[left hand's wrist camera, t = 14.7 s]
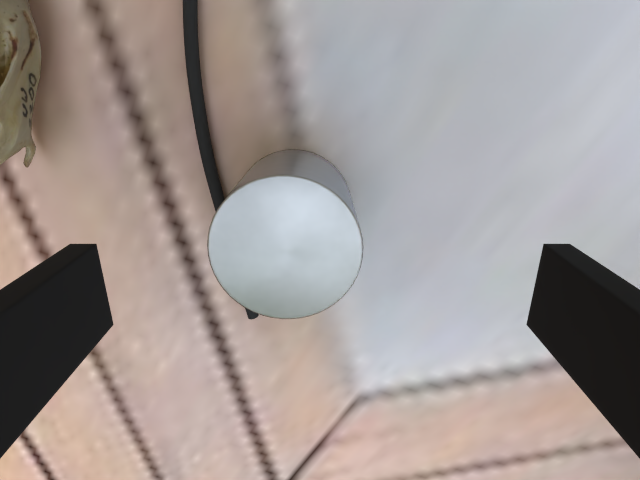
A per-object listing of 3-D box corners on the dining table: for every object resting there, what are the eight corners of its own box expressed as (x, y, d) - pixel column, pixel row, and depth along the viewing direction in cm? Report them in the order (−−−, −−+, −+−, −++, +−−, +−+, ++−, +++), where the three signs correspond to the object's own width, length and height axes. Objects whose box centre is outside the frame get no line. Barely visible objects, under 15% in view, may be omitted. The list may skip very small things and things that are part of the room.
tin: (331, 133, 28) (337, 152, 20) (364, 241, 30) (380, 296, 22) (219, 170, 29) (181, 203, 21) (261, 272, 31) (241, 336, 23)
